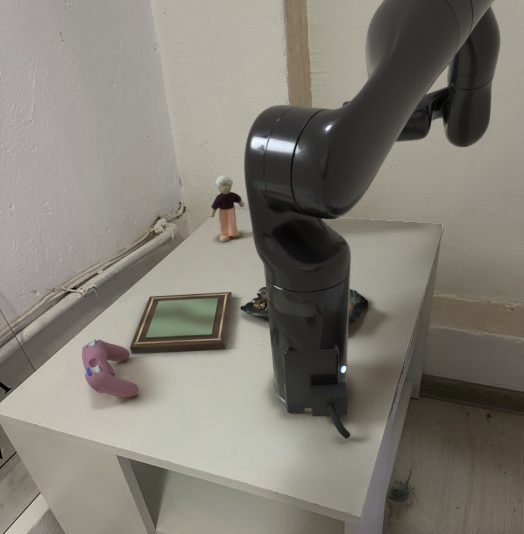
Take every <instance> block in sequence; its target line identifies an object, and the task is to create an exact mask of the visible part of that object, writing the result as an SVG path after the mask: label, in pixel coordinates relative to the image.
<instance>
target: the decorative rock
mask: <svg viewBox="0 0 524 534" xmlns="http://www.w3.org/2000/svg"><path fill="white" fill-rule="evenodd" d="M256 296H257V297H253V298H252V299H251V301H249V302H247V303H246V304H244V305H241V306H240V307H239V309H240V311H243V312H245V313H246V314H248V315H251V316H256V317H260V318H267V319H269V317H268V306H267V293H266V286H263V287H261V288H259V289H258V292H256ZM368 307H369V300H368V299H367V298H366V297H365V296H363V295H362V294H360V293H359V292H358V291H357V290H356V289H351V288H350V295H349V321H348V325H352V324H353V323H355V322H356V321H357V319H358V318H359V317H360V315H361V314H362V312H363V311H364V309H365V308H368Z"/></svg>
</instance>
